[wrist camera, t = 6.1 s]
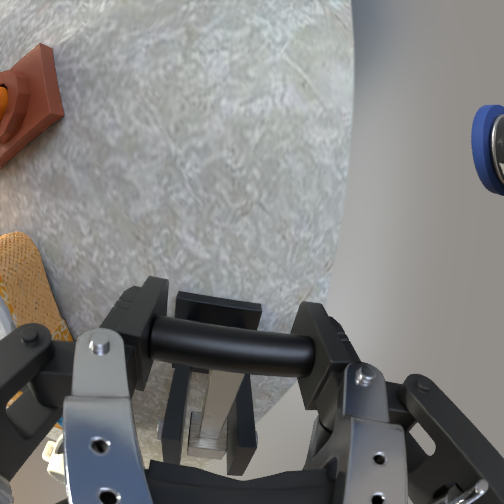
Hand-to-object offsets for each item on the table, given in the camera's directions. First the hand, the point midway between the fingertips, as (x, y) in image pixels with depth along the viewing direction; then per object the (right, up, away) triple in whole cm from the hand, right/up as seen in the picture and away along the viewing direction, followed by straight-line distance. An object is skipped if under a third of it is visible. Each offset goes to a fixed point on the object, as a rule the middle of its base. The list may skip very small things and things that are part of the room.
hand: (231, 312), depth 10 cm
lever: (-1, -4, +2) cm, 5 cm away
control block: (-21, +16, +5) cm, 26 cm away
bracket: (-3, -5, +14) cm, 15 cm away
